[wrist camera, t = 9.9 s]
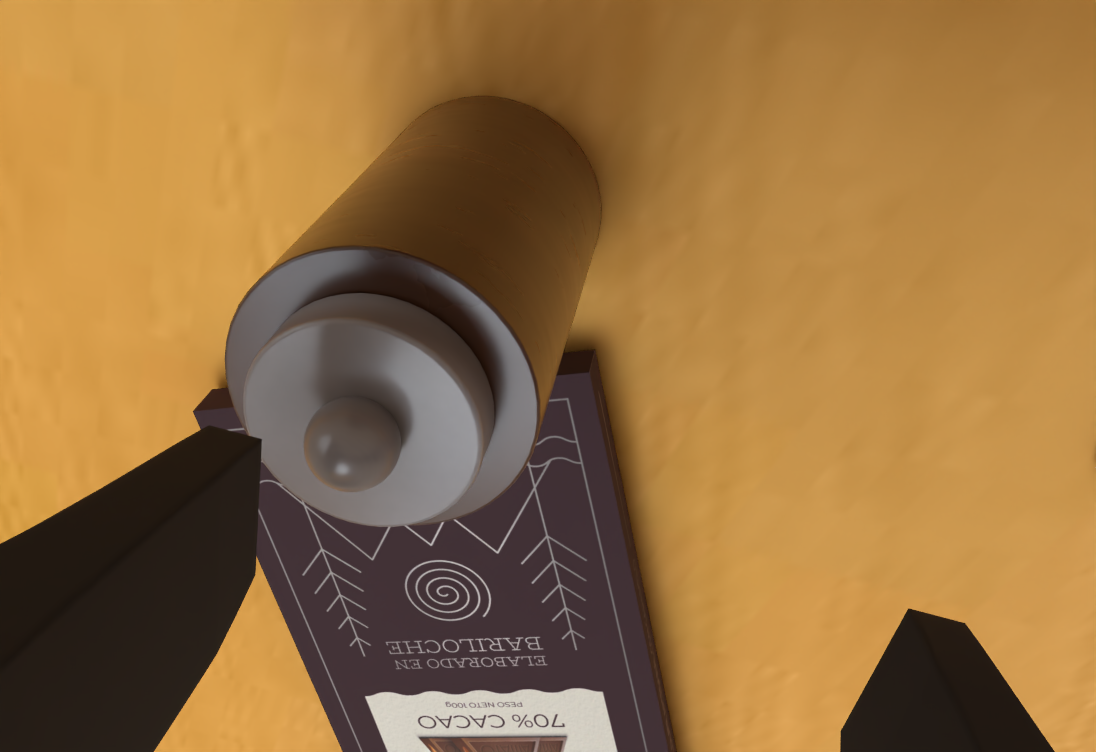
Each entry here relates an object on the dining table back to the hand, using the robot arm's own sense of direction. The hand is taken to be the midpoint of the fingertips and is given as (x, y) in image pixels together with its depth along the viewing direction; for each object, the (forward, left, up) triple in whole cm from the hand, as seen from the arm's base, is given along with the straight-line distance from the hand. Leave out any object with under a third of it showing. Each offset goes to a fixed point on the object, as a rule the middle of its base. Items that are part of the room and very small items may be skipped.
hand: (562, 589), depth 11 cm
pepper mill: (+3, 0, -10) cm, 10 cm away
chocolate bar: (+1, +13, -10) cm, 16 cm away
